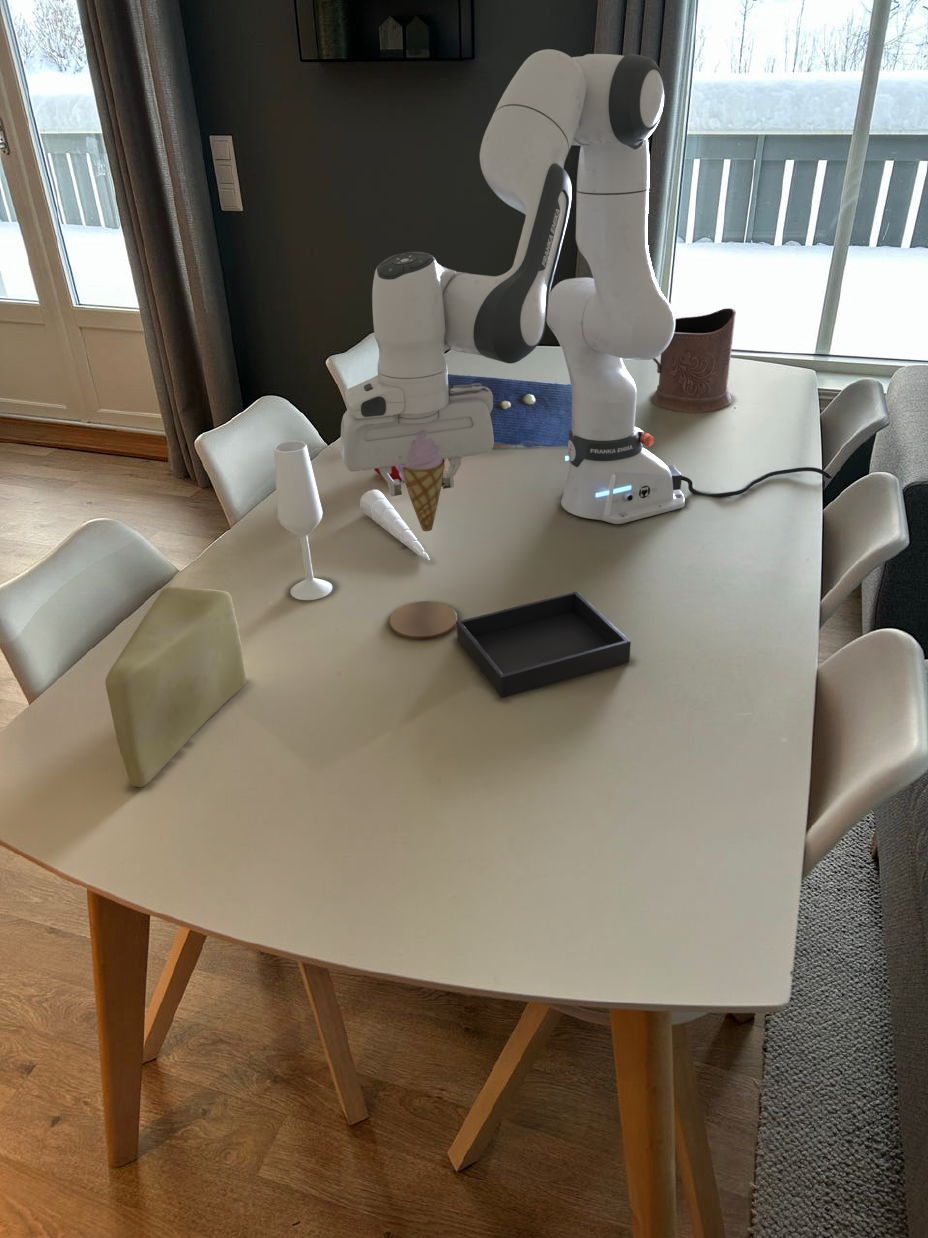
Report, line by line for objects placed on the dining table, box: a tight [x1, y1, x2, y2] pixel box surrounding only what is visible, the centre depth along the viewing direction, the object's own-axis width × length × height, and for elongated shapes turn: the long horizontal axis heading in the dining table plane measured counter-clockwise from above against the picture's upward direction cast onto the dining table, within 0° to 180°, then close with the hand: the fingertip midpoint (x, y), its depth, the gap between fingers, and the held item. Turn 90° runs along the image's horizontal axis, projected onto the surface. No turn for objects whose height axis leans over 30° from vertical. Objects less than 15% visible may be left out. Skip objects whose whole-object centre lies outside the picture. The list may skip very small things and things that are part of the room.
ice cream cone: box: [396, 430, 446, 532], centre depth 122 cm, size 7×6×15 cm
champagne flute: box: [273, 440, 333, 601], centre depth 138 cm, size 7×7×24 cm
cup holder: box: [651, 307, 737, 413], centre depth 209 cm, size 18×24×25 cm
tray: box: [456, 590, 632, 699], centre depth 126 cm, size 19×15×3 cm
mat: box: [448, 373, 572, 449], centre depth 205 cm, size 45×27×12 cm, turn 82°
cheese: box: [104, 586, 247, 788], centre depth 111 cm, size 22×10×15 cm, turn 168°
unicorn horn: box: [359, 489, 431, 561], centre depth 158 cm, size 5×24×5 cm, turn 25°
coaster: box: [389, 600, 458, 640], centre depth 134 cm, size 10×10×1 cm
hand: (421, 490), depth 123 cm, fingers closed on ice cream cone, 6 cm apart
